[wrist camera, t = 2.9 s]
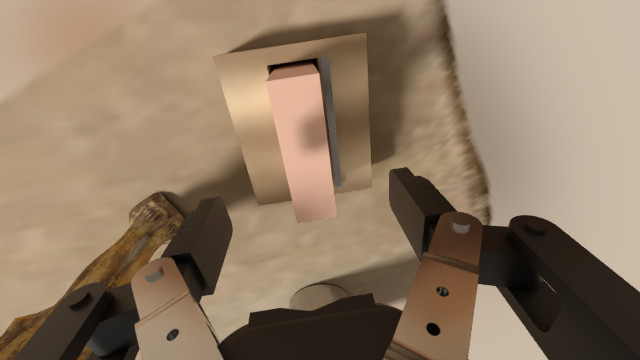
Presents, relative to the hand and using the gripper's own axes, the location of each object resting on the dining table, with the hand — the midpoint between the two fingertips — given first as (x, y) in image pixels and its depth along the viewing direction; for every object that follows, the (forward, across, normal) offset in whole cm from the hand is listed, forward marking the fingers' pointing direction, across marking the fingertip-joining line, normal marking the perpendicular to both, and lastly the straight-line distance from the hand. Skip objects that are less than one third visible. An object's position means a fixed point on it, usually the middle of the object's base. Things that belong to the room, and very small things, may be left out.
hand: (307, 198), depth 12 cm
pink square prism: (+14, 0, 0) cm, 14 cm away
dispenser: (+14, 0, 0) cm, 14 cm away
